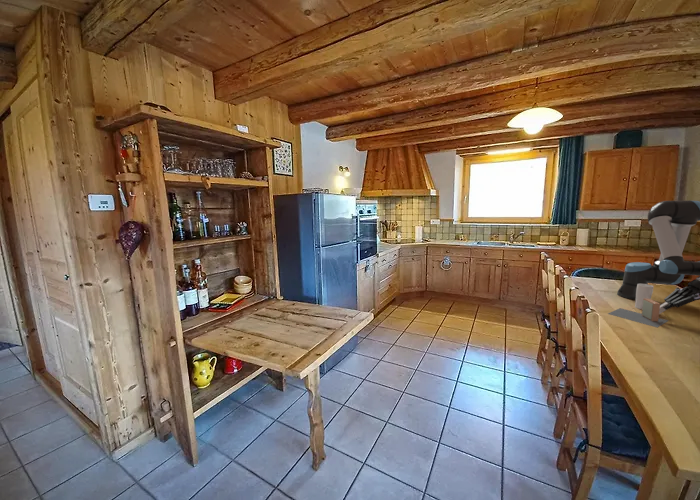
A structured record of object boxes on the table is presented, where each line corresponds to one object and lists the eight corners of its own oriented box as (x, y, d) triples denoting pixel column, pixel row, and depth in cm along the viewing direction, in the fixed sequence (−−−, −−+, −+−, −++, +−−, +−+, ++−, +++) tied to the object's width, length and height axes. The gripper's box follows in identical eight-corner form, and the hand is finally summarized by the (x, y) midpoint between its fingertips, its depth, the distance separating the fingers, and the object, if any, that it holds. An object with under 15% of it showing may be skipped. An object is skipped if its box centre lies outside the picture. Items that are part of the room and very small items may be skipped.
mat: (619, 309, 167) (620, 308, 167) (668, 321, 150) (668, 320, 150) (607, 314, 160) (607, 313, 159) (657, 328, 142) (657, 327, 142)
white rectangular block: (641, 307, 170) (646, 283, 168) (652, 311, 164) (657, 287, 161) (629, 306, 171) (634, 283, 168) (639, 311, 164) (644, 286, 162)
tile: (647, 315, 156) (649, 298, 155) (658, 321, 149) (660, 303, 147) (641, 315, 157) (642, 298, 155) (651, 321, 150) (653, 303, 148)
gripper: (721, 293, 137) (671, 321, 145) (697, 285, 149) (652, 312, 157) (709, 282, 138) (660, 311, 145) (686, 275, 150) (642, 302, 158)
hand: (656, 311), depth 151 cm, fingers closed
